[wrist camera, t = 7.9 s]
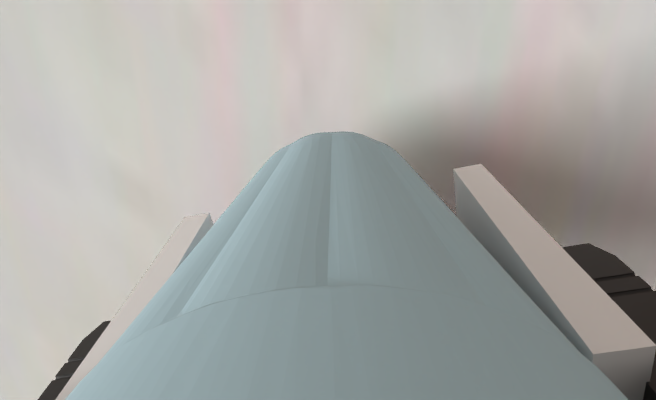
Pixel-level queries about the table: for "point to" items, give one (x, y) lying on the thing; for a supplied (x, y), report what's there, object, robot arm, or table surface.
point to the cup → (341, 299)
